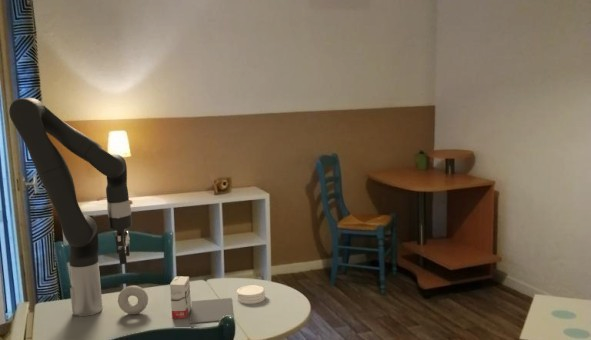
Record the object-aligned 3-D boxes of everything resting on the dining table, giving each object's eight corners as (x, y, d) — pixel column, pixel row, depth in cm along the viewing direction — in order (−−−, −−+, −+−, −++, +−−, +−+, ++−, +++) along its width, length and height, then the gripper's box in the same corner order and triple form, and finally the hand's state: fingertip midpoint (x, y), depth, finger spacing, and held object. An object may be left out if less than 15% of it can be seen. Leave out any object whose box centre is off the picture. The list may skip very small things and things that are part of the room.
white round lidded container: (233, 303, 198) (232, 294, 197) (242, 293, 207) (242, 283, 207) (260, 305, 195) (260, 296, 195) (268, 294, 205) (268, 285, 204)
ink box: (186, 318, 186) (184, 284, 184) (171, 319, 186) (169, 285, 184) (191, 308, 194) (189, 275, 192) (177, 308, 194) (175, 275, 192)
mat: (190, 323, 182) (190, 322, 182) (191, 302, 199) (191, 301, 199) (233, 320, 184) (233, 318, 184) (231, 299, 201) (231, 297, 201)
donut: (150, 311, 193) (148, 283, 191) (148, 315, 189) (146, 286, 188) (120, 312, 192) (117, 284, 190) (117, 317, 189) (115, 288, 187)
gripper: (111, 210, 197) (116, 254, 200) (104, 220, 183) (110, 267, 186) (133, 208, 198) (138, 252, 201) (128, 217, 184) (134, 265, 187)
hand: (125, 259), depth 193 cm, fingers open, 8 cm apart
